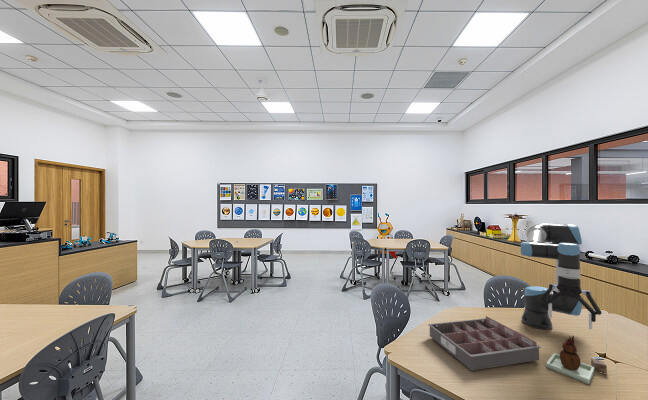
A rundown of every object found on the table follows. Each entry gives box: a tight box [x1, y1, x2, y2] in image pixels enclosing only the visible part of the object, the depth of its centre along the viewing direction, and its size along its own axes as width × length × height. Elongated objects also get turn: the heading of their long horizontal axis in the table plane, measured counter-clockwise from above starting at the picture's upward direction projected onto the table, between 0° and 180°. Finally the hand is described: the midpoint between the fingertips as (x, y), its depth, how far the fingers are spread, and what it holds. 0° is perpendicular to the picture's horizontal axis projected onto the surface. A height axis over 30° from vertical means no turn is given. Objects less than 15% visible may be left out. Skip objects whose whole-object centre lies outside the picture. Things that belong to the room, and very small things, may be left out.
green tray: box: [545, 352, 595, 385], centre depth 117 cm, size 14×14×2 cm
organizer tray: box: [427, 315, 542, 371], centre depth 134 cm, size 32×40×10 cm
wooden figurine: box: [559, 335, 581, 370], centre depth 118 cm, size 7×6×15 cm
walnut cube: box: [590, 358, 608, 375], centre depth 117 cm, size 4×4×4 cm
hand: (569, 322), depth 118 cm, fingers open, 13 cm apart
